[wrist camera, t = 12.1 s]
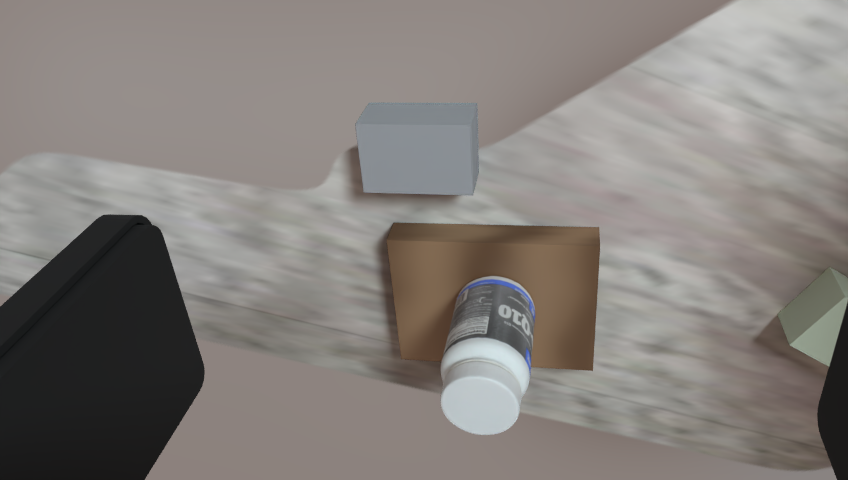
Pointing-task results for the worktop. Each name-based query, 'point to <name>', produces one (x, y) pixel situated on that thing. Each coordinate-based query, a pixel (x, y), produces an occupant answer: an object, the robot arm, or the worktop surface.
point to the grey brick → (419, 148)
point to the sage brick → (817, 316)
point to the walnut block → (505, 257)
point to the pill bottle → (488, 355)
